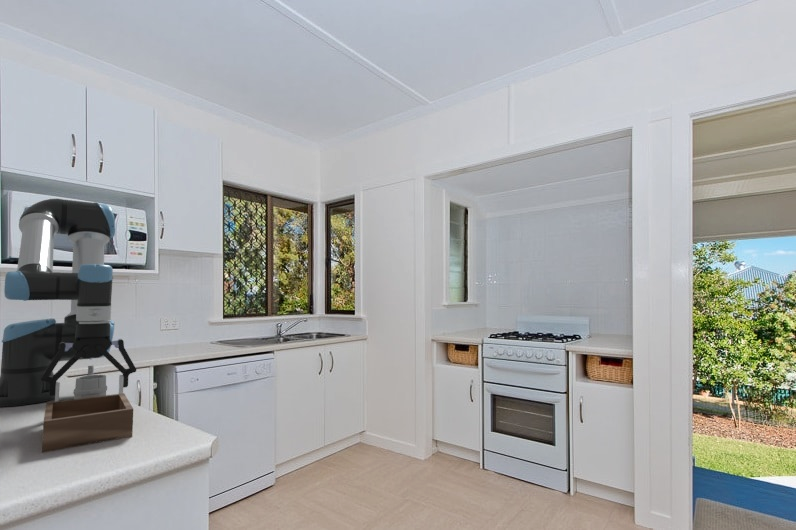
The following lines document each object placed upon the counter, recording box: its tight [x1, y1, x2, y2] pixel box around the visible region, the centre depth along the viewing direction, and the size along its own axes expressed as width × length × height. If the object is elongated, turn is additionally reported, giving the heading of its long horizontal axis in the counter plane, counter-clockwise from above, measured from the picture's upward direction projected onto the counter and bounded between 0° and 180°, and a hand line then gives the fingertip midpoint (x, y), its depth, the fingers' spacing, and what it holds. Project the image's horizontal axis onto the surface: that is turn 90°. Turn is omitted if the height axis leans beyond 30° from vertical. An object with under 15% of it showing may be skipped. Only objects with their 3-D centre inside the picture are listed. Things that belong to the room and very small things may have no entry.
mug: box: [73, 364, 108, 399], centre depth 112 cm, size 8×12×12 cm, turn 38°
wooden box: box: [41, 392, 134, 453], centre depth 97 cm, size 18×15×6 cm
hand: (89, 404), depth 112 cm, fingers open, 13 cm apart
